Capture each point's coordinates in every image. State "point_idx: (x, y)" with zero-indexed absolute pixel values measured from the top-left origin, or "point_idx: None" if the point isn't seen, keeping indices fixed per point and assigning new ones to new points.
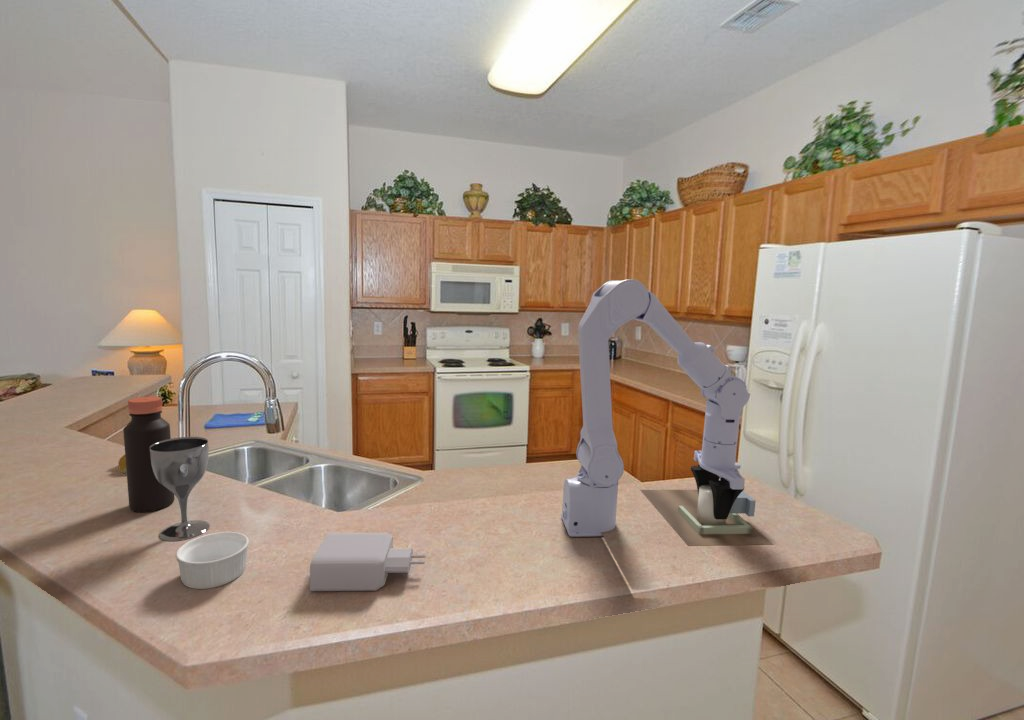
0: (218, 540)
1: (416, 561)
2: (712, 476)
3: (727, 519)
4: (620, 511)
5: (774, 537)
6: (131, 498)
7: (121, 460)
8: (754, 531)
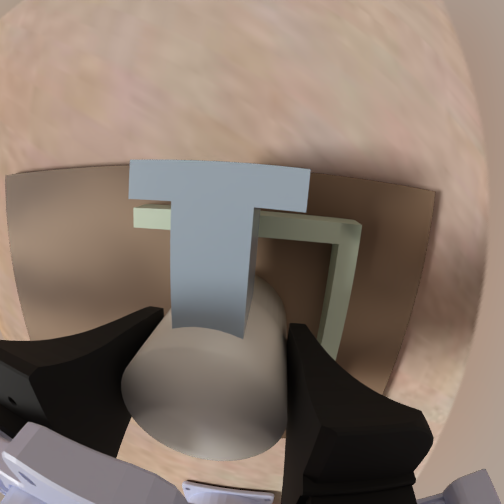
0: None
1: None
2: (85, 406)
3: None
4: (155, 457)
5: (353, 115)
6: None
7: None
8: (338, 193)
